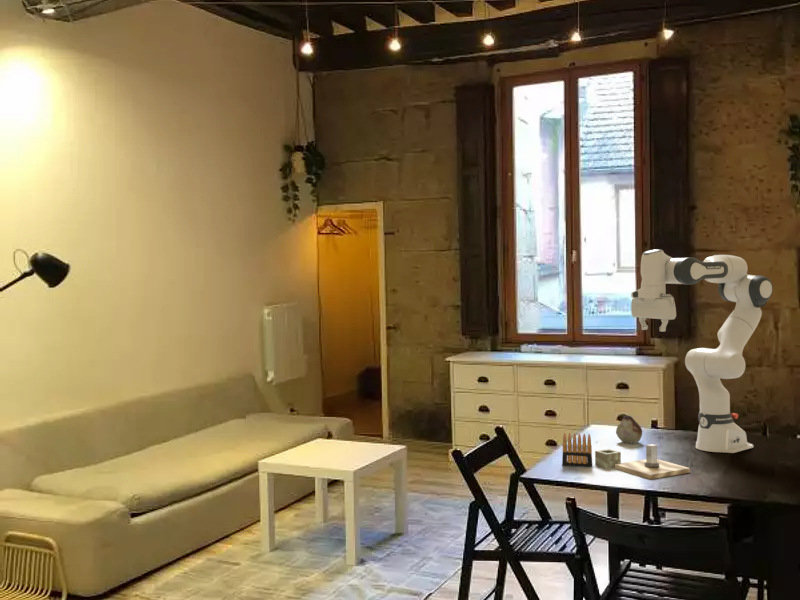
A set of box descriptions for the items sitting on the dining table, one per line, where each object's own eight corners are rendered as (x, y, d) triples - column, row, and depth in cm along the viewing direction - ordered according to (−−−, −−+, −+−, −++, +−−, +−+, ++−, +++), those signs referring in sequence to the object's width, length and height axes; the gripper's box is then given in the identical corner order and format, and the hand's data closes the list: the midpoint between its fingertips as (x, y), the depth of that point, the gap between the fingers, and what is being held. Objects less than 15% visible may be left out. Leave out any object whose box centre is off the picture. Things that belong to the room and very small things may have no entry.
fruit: (613, 443, 353) (613, 414, 352) (620, 439, 361) (620, 410, 360) (638, 446, 347) (638, 416, 347) (645, 441, 355) (645, 412, 355)
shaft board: (653, 462, 321) (653, 437, 320) (689, 472, 304) (689, 446, 304) (614, 468, 313) (614, 443, 312) (650, 479, 296) (649, 453, 296)
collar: (609, 462, 322) (608, 448, 322) (620, 465, 316) (620, 452, 316) (595, 464, 319) (595, 450, 319) (606, 468, 313) (606, 454, 313)
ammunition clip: (592, 466, 317) (592, 433, 316) (591, 467, 315) (591, 434, 314) (562, 464, 320) (562, 432, 320) (562, 465, 318) (561, 433, 318)
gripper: (680, 293, 315) (680, 332, 316) (640, 292, 333) (641, 328, 334) (666, 294, 312) (667, 333, 313) (628, 293, 331) (628, 329, 331)
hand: (653, 330), depth 324 cm, fingers open, 8 cm apart
